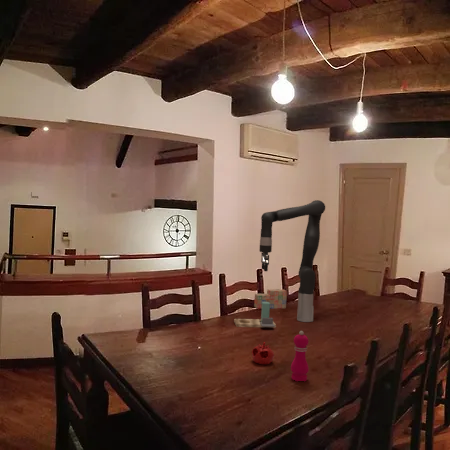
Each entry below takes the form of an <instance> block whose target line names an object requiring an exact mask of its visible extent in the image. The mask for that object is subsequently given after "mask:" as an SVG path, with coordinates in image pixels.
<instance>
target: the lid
mask: <svg viewBox="0 0 450 450" xmlns="http://www.w3.org/2000/svg"><path fill="white" fill-rule="evenodd" d="M273 321H274V318H273V317H269V318H262V322H260V324H261V326H262V327H261V328H270V327H275V325H274V324H273Z"/></svg>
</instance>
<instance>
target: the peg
mask: <svg viewBox="0 0 450 450" xmlns="http://www.w3.org/2000/svg"><path fill="white" fill-rule="evenodd" d="M270 310H271V308H270V303H269V302H262V309H261V312H260V313H261V316H260V319H261V322H262V318H270Z"/></svg>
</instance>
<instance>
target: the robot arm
mask: <svg viewBox="0 0 450 450" xmlns="http://www.w3.org/2000/svg"><path fill="white" fill-rule="evenodd" d="M325 211H326V204H325V203H324V202H323V201H322V200H317V199H316V200H315V199H314V200H313V201H310V203H307V204H304V205H300V206H299V205H298V206H294V207H286V208H282V209H277V210H273V211H267V212H264V213H263V214H262V215H261V218H260V219H261V225H260V226H261V228H260V238H259V239H260V240H259V252H260V253H261V255H260V257H261V259H260V263H261V269H262V270H263V272H268V270H269V267H268V266H269V265H270V254H269V253H271V252H272V249H273V248H272V247H273V239H272V236H273V223H274V222H281V221H282V222H284V221H287V220H292V219H295V218H300V217H305V216H308V220H307V225H306V229H305V233H304V239H303V246H302V247H303V248H302V257H301V262H300V266H299V270H298V277H299V279H300V280H299V287H298V295H297V296H298V297H297V311H296V313H297V316H296V320H297V321H298V322H304V323H310V322H314V307H315V306H314V291H315V287H316V273H315V271H314V268H313V267H314V259H315V258H316V257H315V256H316V254H317V252H318V249H319V244H320V240H321V239H320V237H321V235H320V234H321V233H320V232H321V231H320V230H321V227H320V226H321V219H322V214H324V213H325Z"/></svg>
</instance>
